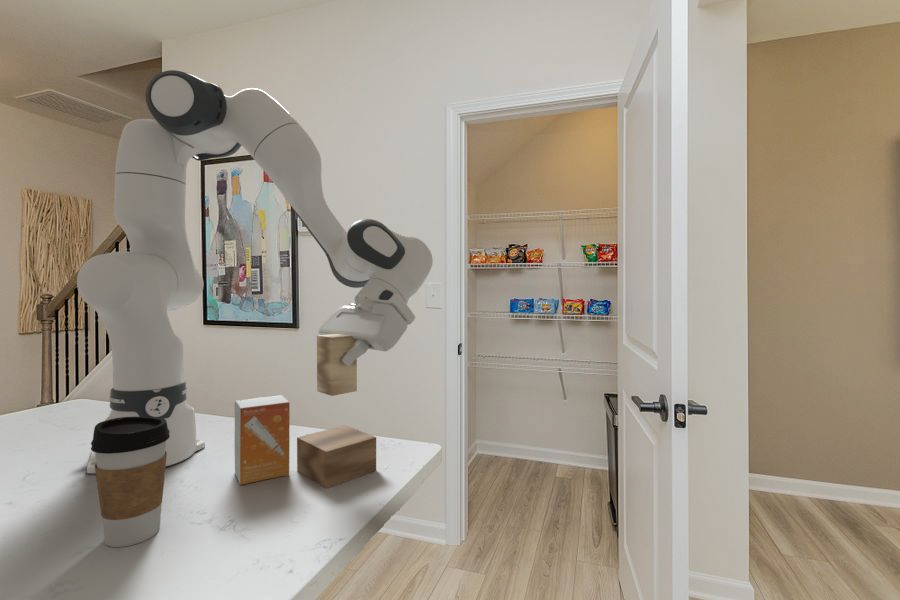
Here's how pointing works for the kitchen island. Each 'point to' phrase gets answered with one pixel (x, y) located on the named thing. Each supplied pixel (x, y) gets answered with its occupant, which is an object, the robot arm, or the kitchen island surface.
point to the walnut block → (336, 455)
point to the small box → (261, 438)
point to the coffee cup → (130, 477)
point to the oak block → (335, 365)
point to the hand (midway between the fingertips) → (333, 361)
